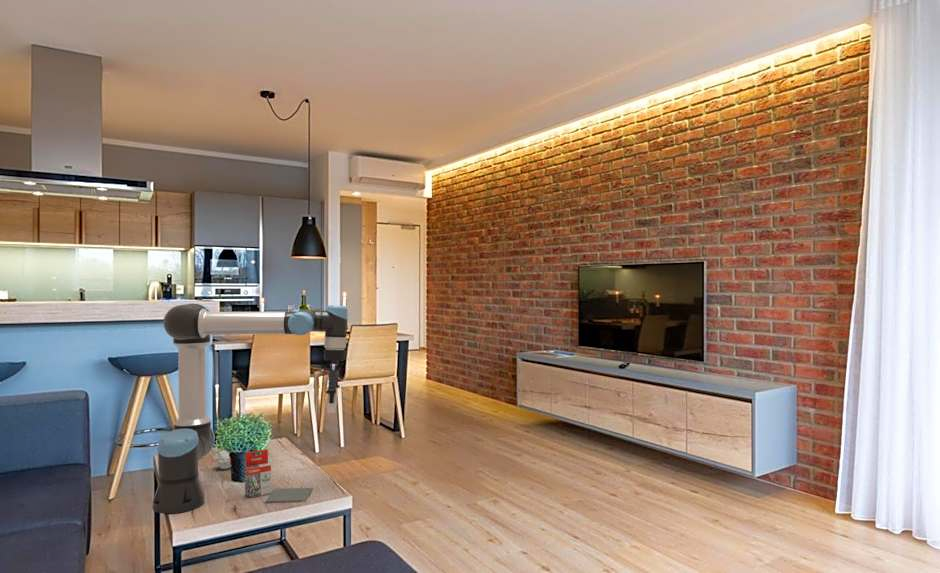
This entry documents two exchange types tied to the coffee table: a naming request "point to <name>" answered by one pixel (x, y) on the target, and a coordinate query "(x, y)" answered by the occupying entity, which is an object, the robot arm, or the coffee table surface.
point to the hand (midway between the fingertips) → (331, 409)
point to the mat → (289, 495)
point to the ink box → (257, 474)
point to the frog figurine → (223, 459)
